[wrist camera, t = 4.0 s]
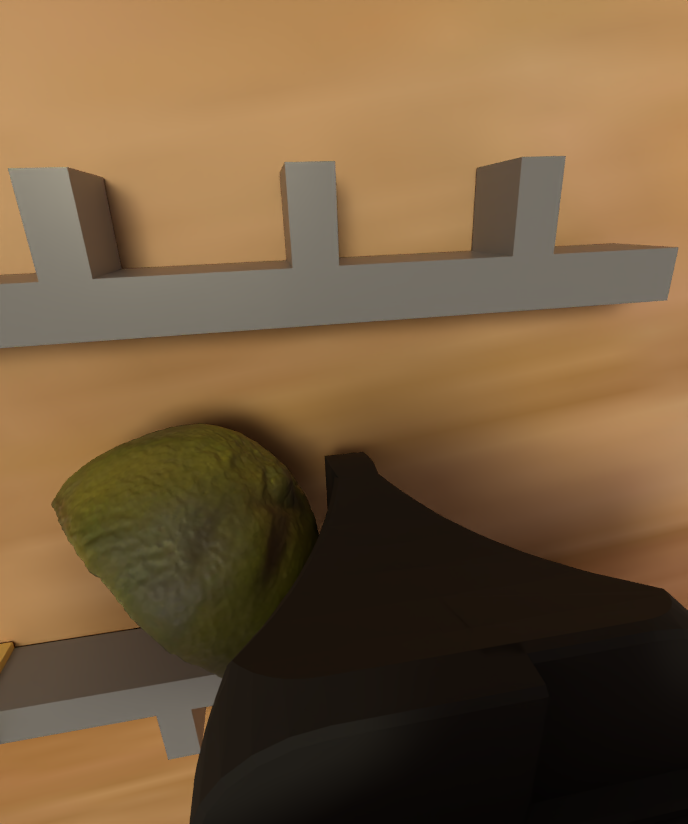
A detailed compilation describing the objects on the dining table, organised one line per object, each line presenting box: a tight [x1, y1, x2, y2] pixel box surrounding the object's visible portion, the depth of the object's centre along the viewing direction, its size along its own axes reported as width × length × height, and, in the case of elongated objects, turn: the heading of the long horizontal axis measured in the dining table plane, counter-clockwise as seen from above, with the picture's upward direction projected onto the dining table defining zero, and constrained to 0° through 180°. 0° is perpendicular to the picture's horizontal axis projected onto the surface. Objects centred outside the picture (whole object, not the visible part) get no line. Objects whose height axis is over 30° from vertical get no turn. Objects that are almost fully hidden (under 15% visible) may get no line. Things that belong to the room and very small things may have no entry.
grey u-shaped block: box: [0, 156, 678, 760], centre depth 10 cm, size 13×20×3 cm, turn 92°
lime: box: [52, 423, 319, 678], centre depth 9 cm, size 4×5×5 cm
